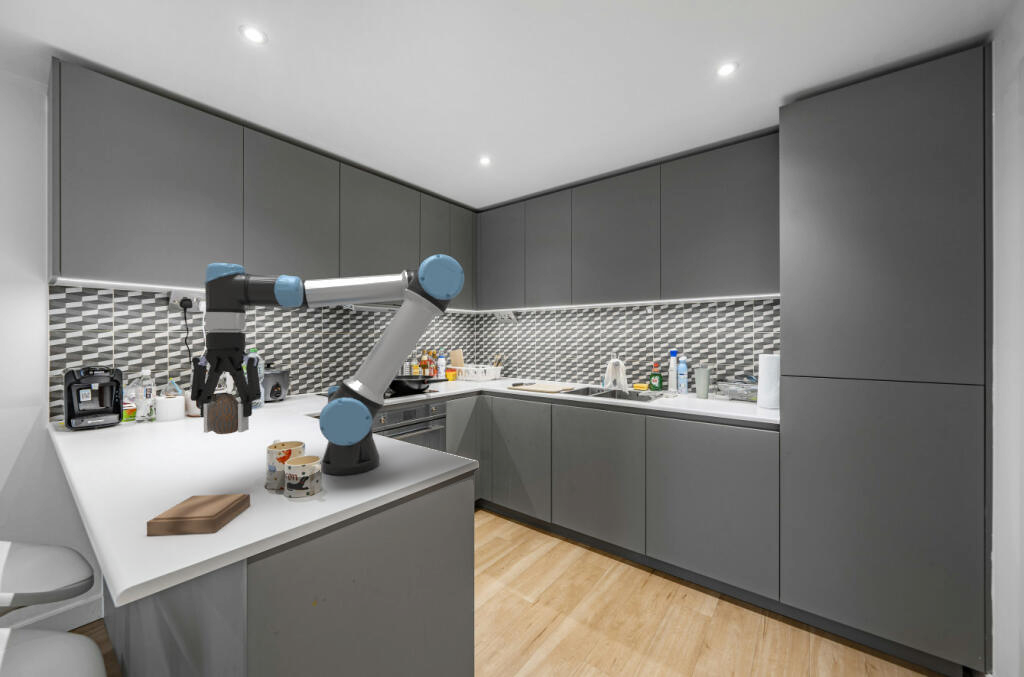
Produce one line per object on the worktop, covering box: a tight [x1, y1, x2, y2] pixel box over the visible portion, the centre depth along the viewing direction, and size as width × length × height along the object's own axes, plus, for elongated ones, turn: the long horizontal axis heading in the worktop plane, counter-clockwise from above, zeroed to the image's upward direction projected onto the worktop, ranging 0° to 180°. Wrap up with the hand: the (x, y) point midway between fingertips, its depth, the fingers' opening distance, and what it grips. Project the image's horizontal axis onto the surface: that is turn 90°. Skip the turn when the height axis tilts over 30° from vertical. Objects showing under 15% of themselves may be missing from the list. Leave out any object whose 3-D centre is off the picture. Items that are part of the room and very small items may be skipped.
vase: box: [208, 393, 240, 435], centre depth 94 cm, size 7×7×9 cm
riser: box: [146, 493, 251, 537], centre depth 83 cm, size 12×12×3 cm
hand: (226, 430), depth 94 cm, fingers closed on vase, 7 cm apart
